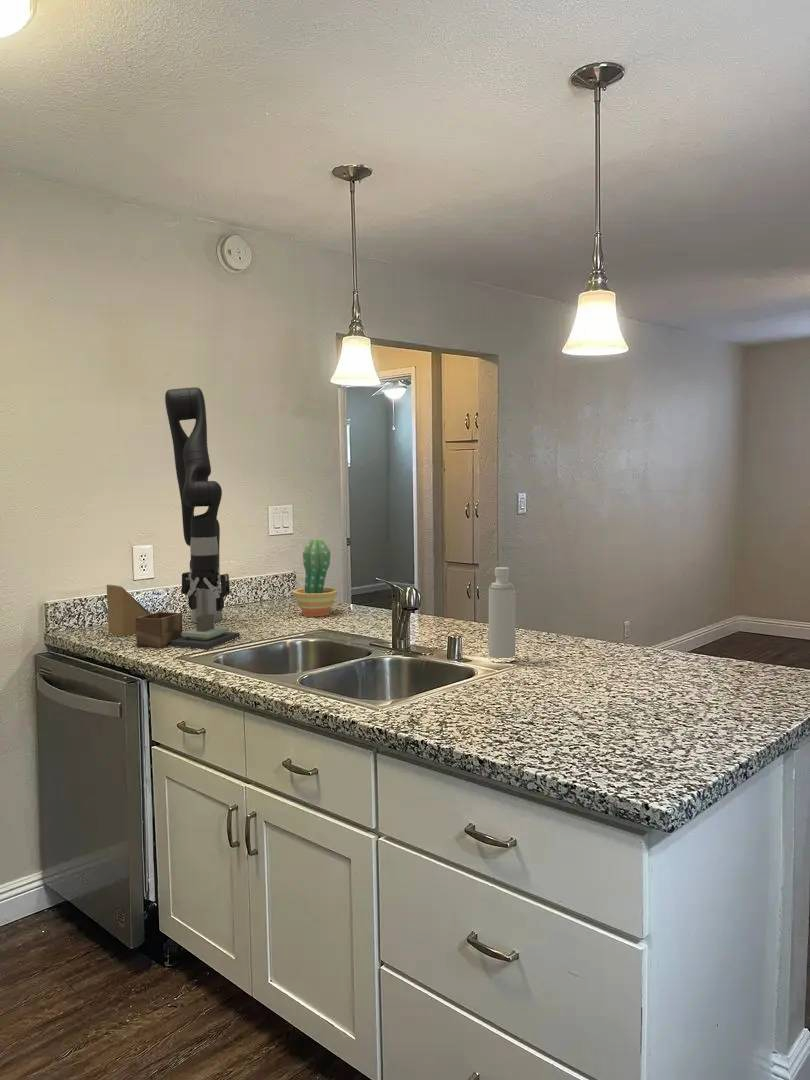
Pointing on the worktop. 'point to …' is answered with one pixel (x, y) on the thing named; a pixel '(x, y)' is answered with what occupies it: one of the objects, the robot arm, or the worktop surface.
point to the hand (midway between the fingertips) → (206, 609)
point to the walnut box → (158, 629)
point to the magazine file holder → (122, 611)
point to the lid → (205, 628)
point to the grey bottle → (502, 615)
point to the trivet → (205, 641)
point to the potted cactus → (315, 581)
